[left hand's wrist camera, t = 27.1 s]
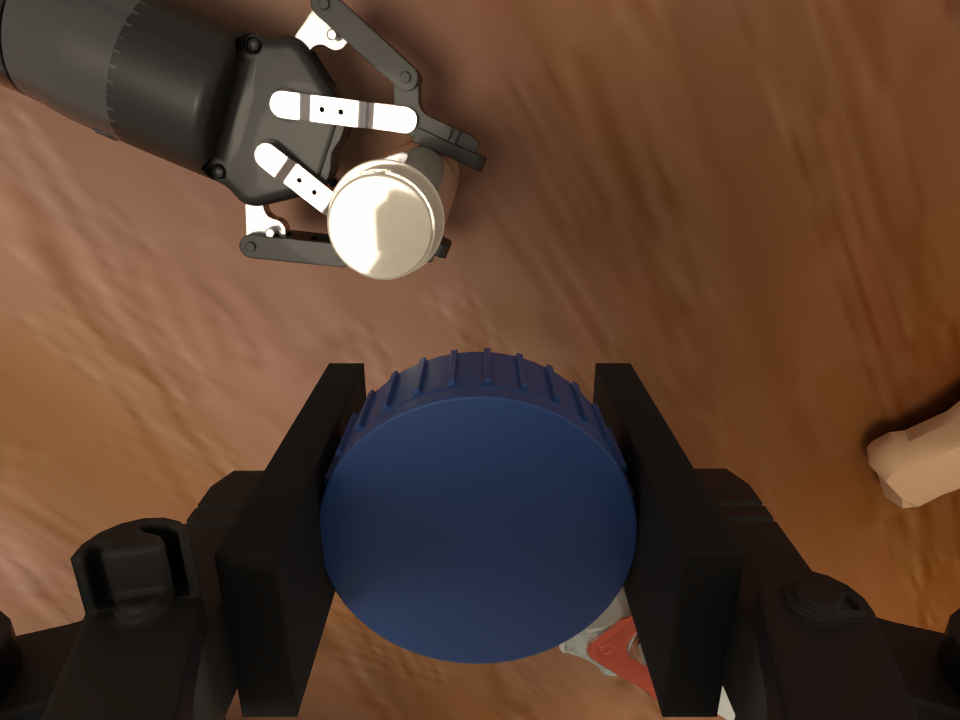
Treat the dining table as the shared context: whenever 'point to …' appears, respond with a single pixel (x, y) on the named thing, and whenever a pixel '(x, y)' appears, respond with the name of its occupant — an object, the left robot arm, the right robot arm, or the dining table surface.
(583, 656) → the tape dispenser
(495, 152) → the dining table surface
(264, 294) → the dining table surface
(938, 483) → the squash
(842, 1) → the dining table surface
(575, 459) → the lid
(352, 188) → the cream plastic cylinder
